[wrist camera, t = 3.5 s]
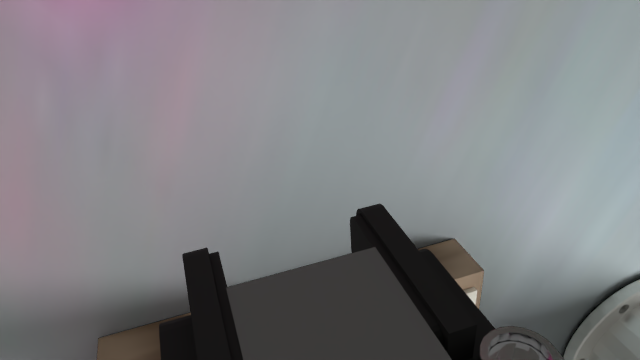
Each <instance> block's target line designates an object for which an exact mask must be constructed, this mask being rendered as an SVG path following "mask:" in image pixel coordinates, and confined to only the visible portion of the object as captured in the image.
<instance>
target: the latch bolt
mask: <svg viewBox="0 0 640 360" xmlns="http://www.w3.org/2000/svg"><path fill="white" fill-rule="evenodd" d="M226 290H227V294H228V298H229V302H230V306H231V311H232V315H233V319H234V323H235V327H236V331H237V336H238V340H239V344H240V348H241V352H242V356H243V360H452V359H451V358H450V356H449V355H448V353H447V352H446V350H445V349H444V347H443V346H442V345H441V343H440V342H439V340H438V339H437V337H436V336H435V334H434V333H433V331H432V330H431V328H430V327H429V325H428V324H427V322H426V321H425V320H424V318H423V317H422V315H421V314H420V312H419V311H418V309H417V308H416V306H415V305H414V303H413V302H412V300H411V299H410V297H409V296H408V295H407V293H406V292H405V290H404V289H403V287H402V286H401V284H400V283H399V281H398V280H397V278H396V277H395V275H394V274H393V272H392V271H391V269H390V268H389V267H388V265H387V264H386V262H385V261H384V259H383V258H382V256H381V255H380V253H379V252H378V250H377V249H376V247H373V248H369V249H366V250H362V251H358V252H355V253H351V254H347V255H344V256H340V257H336V258H333V259H329V260H325V261H322V262H318V263H314V264H311V265H307V266H303V267H300V268H296V269H292V270H289V271H285V272H281V273H278V274H274V275H270V276H267V277H263V278H259V279H256V280H252V281H248V282H245V283H241V284H237V285H234V286H230V287H226Z"/></svg>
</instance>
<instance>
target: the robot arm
mask: <svg viewBox="0 0 640 360" xmlns="http://www.w3.org/2000/svg"><path fill="white" fill-rule="evenodd" d="M350 230H351V249H352V253H355V252H358V251H362V250H366V249H369V248H373V247H376V249H377V250H378V252H379V253H380V255H381V256H382V258H383V259H384V261H385V262H386V264H387V265H388V267H389V268H390V269H391V271H392V272H393V274H394V275H395V277H396V278H397V280H398V281H399V283H400V284H401V286H402V287H403V289H404V290H405V292H406V293H407V295H408V296H409V297H410V299H411V300H412V302H413V303H414V305H415V306H416V308H417V309H418V311H419V312H420V314H421V315H422V317H423V318H424V320H425V321H426V322H427V324H428V325H429V327H430V328H431V330H432V331H433V333H434V334H435V336H436V337H437V339H438V340H439V342H440V343H441V345H442V346H443V347H444V349H445V350H446V352H447V353H448V355H449V356H450V358H451V359H452V360H640V279H639V280H637V281H635V282H633V283H630V284H628V285H627V286H625V287H623V288H622V289H620V290H619V291H617V292H615V293H614V294H613V295H611V296H610V297H609V298H607V299H606V300H605V301H604V302H602V303H601V304H600V305H599V306H598V307H597V308H596V309H595V310H594V311H593V312H592V313H590V315H589V316H588V317H587V318H586V319H585V320H584V321H583V323H582V324H581V325H580V326H579V328H578V329H577V330H576V332H575V333H574V335H573V336H572V338H571V340H570V342H569V344H568V346H567V347H566V350H565V353H564V356H563V357H562V356H561V354H560V353H559V352H558V351H557V349H556V348H555V347H554V346H553V345H552V344H551V343H550V342H549V341H548V340H547V339H546V338H544V337H543V336H541V335H539V334H538V333H536V332H534V331H531V330H528V329H525V328H521V327H514V326H508V327H500V328H497V329H495V328H494V327H493V326H492V325H491V323H490V322H489V321H488V320H487V318H486V317H485V316H484V315H483V314H482V312H481V311H480V310H479V309H478V308H477V306H476V305H475V304H474V303H473V301H472V300H471V299H470V298H469V297H468V295H467V294H466V293H465V292H464V291H463V289H462V288H461V287H460V286H459V284H458V283H457V282H456V281H455V280H454V278H453V277H452V276H451V275H450V274H449V272H448V271H447V270H446V269H445V267H444V266H443V265H442V264H441V263H440V261H439V260H438V259H437V258H436V257H435V255H434V254H433V253H432V252H431V251H430V250H428V249H426V248H425V249H421V250H418V249H417V248H416V247H415V245H414V244H413V243H412V242H411V240H410V239H409V238H408V237H407V235H406V234H405V233H404V232H403V230H402V229H401V228H400V226H399V225H398V224H397V223H396V221H395V220H394V219H393V218H392V216H391V215H390V214H389V213H388V211H387V210H386V209H385V208H384V206H383V205H382V204H377V205H373V206H369V207H365V208H361V209H358V210H357V213H356V216H354V217H351V219H350ZM183 263H184V270H185V277H186V284H187V291H188V298H189V305H190V311H191V315H188V316H185V317H181V318H178V319H174V320H170V321H167V322H163V323H160V324H159V339H160V354H161V360H243V356H242V352H241V348H240V344H239V340H238V336H237V331H236V327H235V323H234V319H233V315H232V311H231V306H230V302H229V298H228V294H227V290H226V287H227V285H226V281H225V277H224V273H223V269H222V264H221V260H220V256H219V252H215V253H211V254H209V253H208V249H207V248H204V249H200V250H196V251H192V252H188V253H184V254H183Z"/></svg>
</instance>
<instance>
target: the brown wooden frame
mask: <svg viewBox="0 0 640 360" xmlns="http://www.w3.org/2000/svg"><path fill="white" fill-rule="evenodd" d="M425 248H426V249H428V250H430V251H431V252H432V253H433V254H434V255H435V257H436V258H437V259H438V260H439V261H440V263H441V264H442V265H443V266H444V267H445V269H446V270H447V271H448V272H449V274H450V275H451V276H452V277H453V278H454V280H455V281H456V282H457V283H458V284H459V286H460V287H461V288H462V289H463V291H464V292H465V293H466V294H467V295H468V297H469V298H470V299H471V300H472V301H473V303H474V304H475V305H476V306H477V308H478V309H479V305H480V298H481V290H482V283H483V275H484V270H483V269H482V268H481V267H480V266H479V265H478V264H477V262H476V261H475V260H474V259H473V258H472V257H471V256H470V255H469V254H468V253H467V252H466V250H465V249H464V248H463V247H462V246H461V245H460V244H459V243H458V242H457V241H456V240H455V239H452V240H448V241H444V242H441V243H437V244H434V245H430V246H427V247H423V248H419V249H418V250H421V249H425ZM188 315H191V313H187V314H184V315H180V316H176V317H173V318H169V319H166V320H162V321H159V322H155V323H151V324H148V325H144V326H141V327H137V328H134V329H130V330H126V331H123V332H119V333H116V334H112V335H109V336H105V337H101V338H98V351H97V360H161V354H160V339H159V324H160V323H163V322H167V321H170V320H174V319H178V318H181V317H185V316H188Z"/></svg>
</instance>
